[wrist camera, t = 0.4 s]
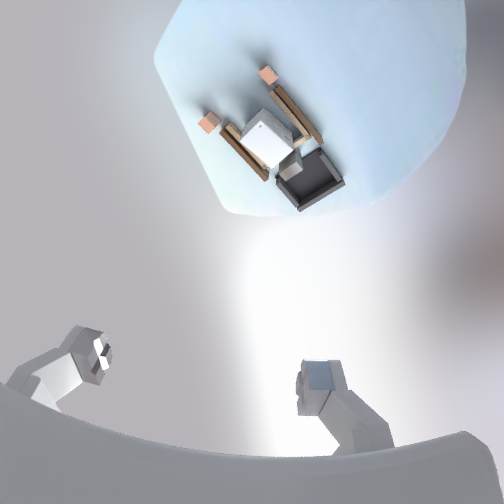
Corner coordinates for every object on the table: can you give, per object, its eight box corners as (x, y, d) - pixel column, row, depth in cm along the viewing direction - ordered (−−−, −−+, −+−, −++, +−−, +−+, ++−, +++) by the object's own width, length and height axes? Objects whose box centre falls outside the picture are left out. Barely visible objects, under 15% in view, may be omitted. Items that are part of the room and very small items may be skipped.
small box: (245, 124, 55) (237, 141, 47) (263, 106, 52) (259, 118, 44) (273, 149, 58) (271, 170, 50) (292, 132, 55) (294, 150, 47)
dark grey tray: (320, 147, 56) (321, 152, 54) (343, 178, 60) (345, 184, 58) (275, 176, 62) (274, 183, 60) (299, 205, 66) (299, 212, 64)
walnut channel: (279, 84, 49) (279, 86, 46) (322, 137, 55) (323, 142, 53) (222, 129, 56) (219, 133, 54) (265, 175, 62) (264, 181, 60)
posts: (268, 64, 46) (266, 66, 42) (278, 76, 47) (277, 78, 44) (203, 116, 54) (197, 123, 51) (213, 126, 56) (208, 134, 52)
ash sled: (273, 89, 49) (271, 96, 42) (316, 142, 55) (321, 158, 49) (227, 125, 55) (218, 138, 48) (270, 172, 61) (268, 192, 54)
